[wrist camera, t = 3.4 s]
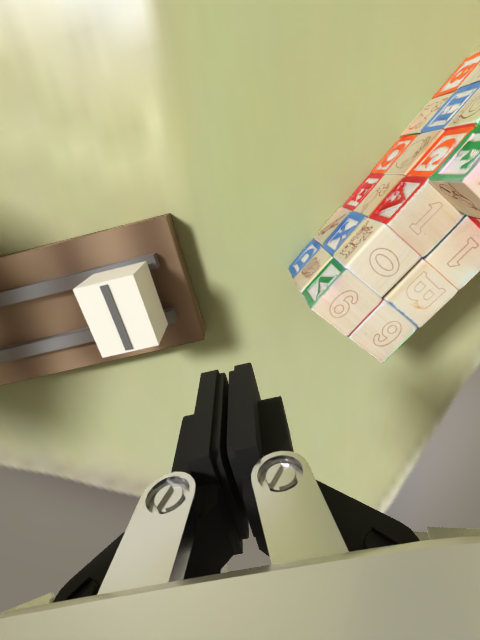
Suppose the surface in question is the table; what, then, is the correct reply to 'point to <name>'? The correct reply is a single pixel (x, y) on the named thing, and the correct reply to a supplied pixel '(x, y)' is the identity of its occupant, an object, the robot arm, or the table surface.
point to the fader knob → (122, 309)
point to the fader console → (63, 308)
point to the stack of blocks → (404, 227)
